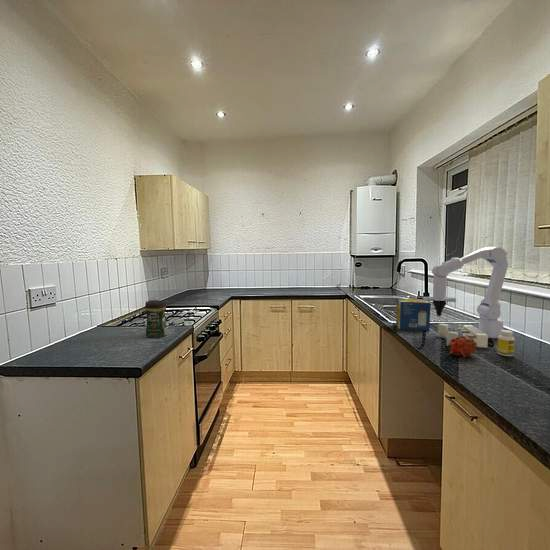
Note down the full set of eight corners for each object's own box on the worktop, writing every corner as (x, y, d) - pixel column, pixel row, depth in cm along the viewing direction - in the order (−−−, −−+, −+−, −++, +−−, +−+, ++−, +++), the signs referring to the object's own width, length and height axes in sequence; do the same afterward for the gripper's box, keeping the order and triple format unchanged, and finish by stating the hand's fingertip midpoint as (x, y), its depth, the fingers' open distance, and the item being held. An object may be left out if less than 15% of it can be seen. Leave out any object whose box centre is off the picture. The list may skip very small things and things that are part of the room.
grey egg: (456, 344, 139) (456, 331, 139) (459, 347, 135) (459, 334, 135) (445, 344, 140) (445, 331, 140) (448, 347, 136) (448, 333, 136)
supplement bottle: (509, 357, 123) (510, 333, 122) (494, 353, 127) (495, 330, 127) (516, 355, 125) (517, 331, 124) (501, 351, 130) (502, 328, 129)
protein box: (395, 325, 176) (396, 298, 174) (424, 326, 173) (425, 299, 171) (399, 329, 165) (399, 301, 164) (430, 331, 162) (431, 302, 161)
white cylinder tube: (446, 335, 154) (446, 323, 153) (449, 338, 149) (449, 326, 149) (436, 335, 155) (437, 323, 154) (439, 337, 151) (439, 325, 150)
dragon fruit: (479, 360, 124) (449, 364, 125) (468, 343, 130) (439, 347, 131) (485, 348, 118) (453, 352, 119) (474, 330, 125) (443, 334, 126)
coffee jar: (143, 338, 153) (142, 301, 151) (150, 334, 161) (149, 299, 159) (162, 338, 152) (161, 301, 151) (169, 334, 160) (167, 299, 159)
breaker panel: (471, 336, 152) (472, 325, 152) (487, 347, 135) (487, 334, 134) (455, 335, 154) (456, 324, 154) (468, 346, 137) (469, 333, 136)
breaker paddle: (470, 335, 143) (468, 334, 144) (472, 336, 141) (470, 335, 141) (466, 341, 144) (464, 340, 144) (468, 343, 142) (465, 341, 142)
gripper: (425, 289, 151) (424, 316, 152) (458, 290, 147) (457, 318, 149) (422, 287, 158) (421, 313, 159) (453, 288, 154) (452, 315, 155)
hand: (438, 315), depth 154 cm, fingers closed
